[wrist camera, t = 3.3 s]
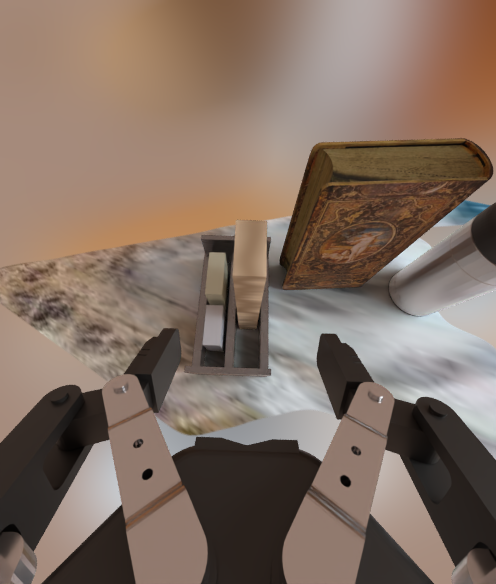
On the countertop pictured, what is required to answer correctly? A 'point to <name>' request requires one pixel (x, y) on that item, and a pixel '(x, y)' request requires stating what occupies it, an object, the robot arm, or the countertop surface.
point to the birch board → (249, 270)
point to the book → (373, 205)
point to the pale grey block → (214, 328)
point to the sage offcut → (217, 280)
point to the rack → (227, 246)
